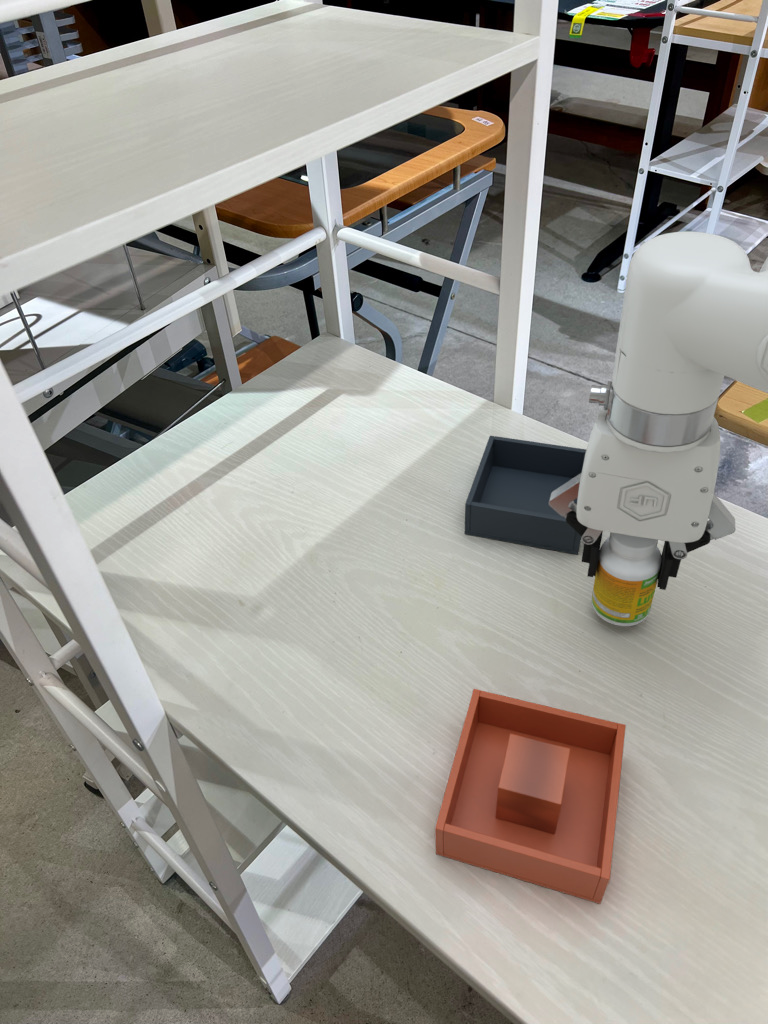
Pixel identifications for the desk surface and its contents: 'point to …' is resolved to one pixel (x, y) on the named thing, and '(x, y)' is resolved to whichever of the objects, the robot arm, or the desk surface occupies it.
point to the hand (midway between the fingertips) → (627, 570)
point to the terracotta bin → (585, 805)
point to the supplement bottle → (626, 579)
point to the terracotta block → (532, 783)
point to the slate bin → (523, 494)
